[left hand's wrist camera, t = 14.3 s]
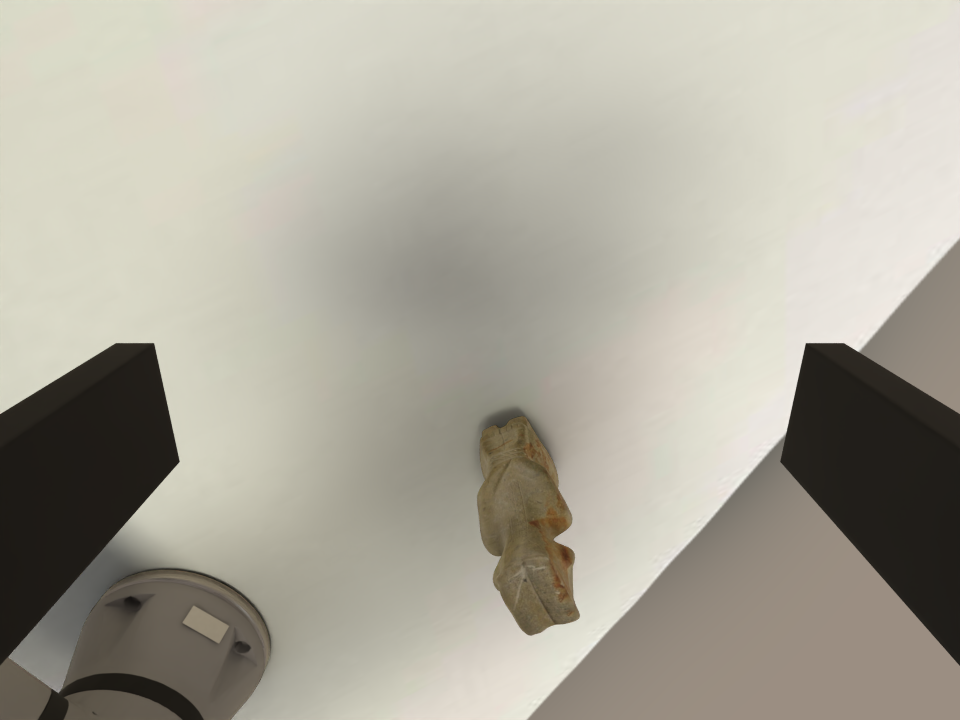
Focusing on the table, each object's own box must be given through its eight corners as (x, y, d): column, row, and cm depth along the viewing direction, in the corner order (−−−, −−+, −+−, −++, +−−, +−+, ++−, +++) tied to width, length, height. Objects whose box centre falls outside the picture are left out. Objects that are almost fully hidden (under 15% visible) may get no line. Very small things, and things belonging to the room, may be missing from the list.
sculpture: (496, 498, 47) (502, 656, 33) (464, 421, 45) (457, 558, 31) (567, 476, 46) (604, 629, 32) (538, 397, 44) (566, 526, 30)
